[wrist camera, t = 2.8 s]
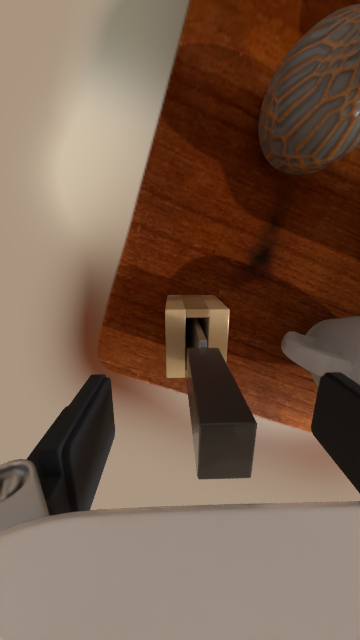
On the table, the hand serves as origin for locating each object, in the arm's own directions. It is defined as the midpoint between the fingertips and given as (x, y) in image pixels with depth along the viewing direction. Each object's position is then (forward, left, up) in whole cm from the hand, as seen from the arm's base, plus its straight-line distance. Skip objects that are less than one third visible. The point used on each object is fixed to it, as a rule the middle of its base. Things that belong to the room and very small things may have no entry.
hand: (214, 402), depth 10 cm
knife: (0, 0, -12) cm, 12 cm away
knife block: (0, 0, -12) cm, 12 cm away
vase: (-15, +7, -12) cm, 21 cm away
